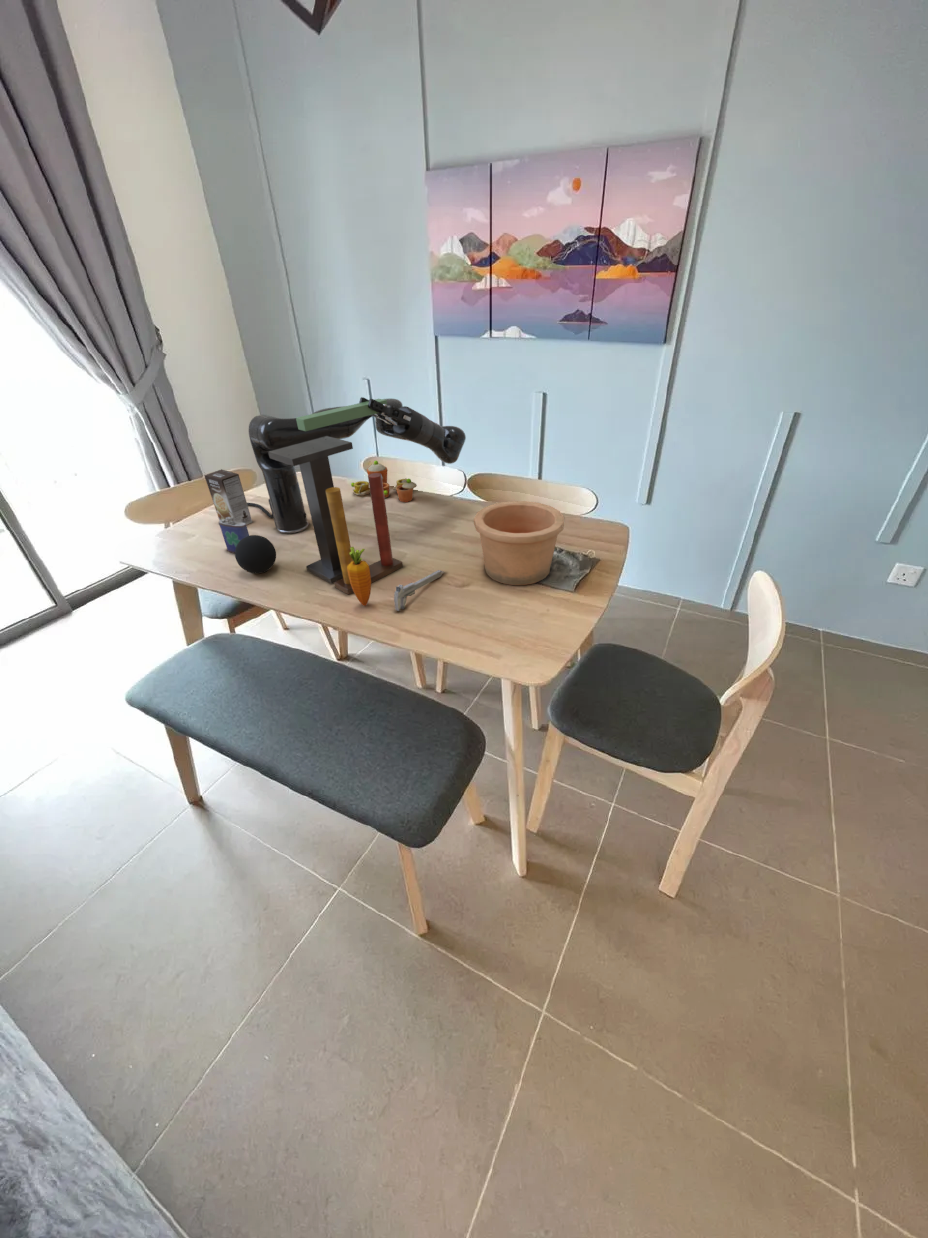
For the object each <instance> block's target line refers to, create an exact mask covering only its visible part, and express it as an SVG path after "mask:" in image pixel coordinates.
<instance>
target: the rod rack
mask: <svg viewBox="0 0 928 1238" xmlns="http://www.w3.org/2000/svg"><path fill="white" fill-rule="evenodd" d="M367 480H368V483H369V488H370V493H369V494H370V499H371V506H372V515H373V520H374V527H375V533H376V539H377V547H378V553H379V560H378V561H376V562H374V563H372V564H370V565H369V564H368V565H369V569H370V577H371V584H372V583H374V582H376V581H379V580H380V579H382V578H384V577H386V576H388V575H390V574H393V573H394V572H396V571H398V570H400V569H401V568H404V565H403V561H401V560H399V559H397V558H395V557H393V552H392V543H391V537H390V528H389V522H388V521H389V520H388V513H387V505H386V498H384V490H383V483H382V475H381V474H380V473H372V474H369V475H368V474H367ZM326 496H327V501H328V506H329V510H330V515H331V520H332V525H333V530H334V535H335V540H336V545H337V550H338V555H339V560H340V565H341V569H342V574H343V579H341V580H338V581H336V582H334V583H333V584H334V588H335V589H337V590H339V591H341V592H343V593H345V594H346V595H351V594H353V593H354V591H353V589H352V586H351V584H350V580H349V576H348V571H347V566H348V565H349V564H350V563H351V562H352V561H353V559H352V558H351V556H350V552H351V549H350V548H351V547H352V546H351V540H350V536H349V530H348V524H347V518H346V512H345V507H344V501H343V496H342V490H341V488H340V487H337V486H334V487H332V488H328V489H326Z"/></svg>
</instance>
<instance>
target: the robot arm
mask: <svg viewBox="0 0 928 1238" xmlns="http://www.w3.org/2000/svg"><path fill="white" fill-rule="evenodd" d="M382 399H383V400H387V405H386V404H382V403H380V402H378V401H376V400H375V399H374V398H370V399H367V398H365V397H363V396H361V397H360V398H359V402H358V403H362V402H367V401H369V404H368V407H369V408H370V409H372V410H374V411H376V412H378V413H376V414H372V415H368V416H364V417H360V418H357V419H353V420H349V421H345V422H341V423H337V424H333V425H329V426H325V427H321V428H317V429H313V430H309V431H303V430H299V429H298V425H297V421H296V418H297V417H291V418H284V417H283V418H281V417H275V416H271V415H267V414H257V415H256V416H254V417H253V418H252V419H251V420H250V422H249V424H248V428H247V429H248V439H249V441H250V445H251V449H252V451H253V454H254V458H255V461H256V463H257V465H258V467H259V468H260V470H261V473H262V476H263V479H264V482H265V487H266V491H267V494H268V497H269V498H268V504H269V507H270V511H271V513H270V512H269V511H268V510H266V509H265V508H264V507H263V506H262V505H261V504H258V503H253V502H247V505H248V507H255V508H258V509H260V510H261V511H262V512H263V513H264V514H265V515H266V516H267V517H268V518H269V519H272V520H273V522H274V526H275V529H277V531H278V532H279V533H280V534H287V535H288V534H289V535H290V534H297V533H300V532H303V531H305V530H306V529H307V528H309V525H310V524H309V522H308V515H307V512H306V509H305V503H304V501H303V496H302V492H301V488H300V484H299V479H298V474H297V471H296V466H292V465H289V464H286V463H283V462H280V461H277V460H274V459H271V458H270V457H269V453H268V452H269V451H273V450H276V449H280V448H284V447H288V446H291V445H295V444H299V443H303V442H307V441H310V440H314V439H318V438H322V437H325V436H329V437H332V438H336V439H340V440H344V439H348V438H350V437H352V436H353V435H355V434H356V433H357V432H358V431H359V430H360V429H361V427H362V426H363V425H364V424H365V423H366V422H367V421H368V420H370V419H371V418H374V423H375V429H376V432H378V434H380V435H382V436H386V437H389V438H393V439H398V440H401V441H407V442H411V443H415V444H418V445H419V446H422V447H424V448H426V449H428V450H430V451H431V453H433V454H434V455H435V456H436V458H438V459H439V460H440V461H441V462H443V463H445V464H447V465H452V464H454V463H456V462H457V461H458V460H459V457H460V454H461V452H462V449H463V447H464V445H465V443H466V439H467V436H466V433H465V432H464V430H463V429H462V428H460V427H458V426H455V425H442V426H441V425H440V424H439V423H437V422H435V421H433V420H431V419H430V418H428V417H427V416H426V415H424V414H422V413H420V412H418V411H417V410H414V409H412V408H411V407H409V406H407V405H406V406H405V405H403V402H402V401H401V400H399V399H397V398H382ZM345 406H346V405H342V406H333V407H326V408H323V409H318V410H316V411H314V412H312V413H311V414H315V413H319V412H323V411H328V410H332V409H336V408H341V407H345Z"/></svg>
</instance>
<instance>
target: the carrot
mask: <svg viewBox="0 0 928 1238" xmlns="http://www.w3.org/2000/svg"><path fill="white" fill-rule="evenodd" d="M350 549H351V552H350V556H351V558H352V559H353V561H352V562H351V563H350V564H349V565H348V566H347V571H348V576H349V580H350V584H351V586H352V589H353V591H354V592H353V593H354V596H355V597H356V599H357V600H358V602H359V603H360V604H361V605H362V606H364V607H366V606H367V605H368V602H369V600H370V596H371V593H372V591H371V590H372V583H371V577H370V569H369V563H367V561H366V560H363V558H362V557H361V556H362V554H363V553H364V552H365V550H366V549H365V548H362V549H360V550H359V549H355V547H354V546H351V548H350Z"/></svg>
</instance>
